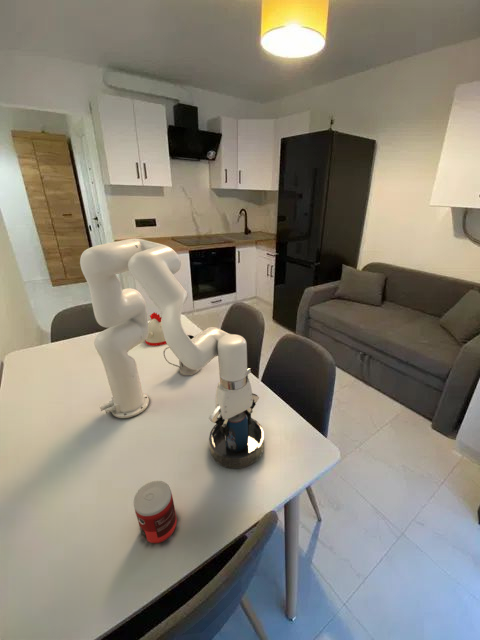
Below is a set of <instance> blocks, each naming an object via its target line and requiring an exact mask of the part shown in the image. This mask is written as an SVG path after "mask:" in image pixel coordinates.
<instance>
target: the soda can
mask: <svg viewBox="0 0 480 640" xmlns="http://www.w3.org/2000/svg"><path fill="white" fill-rule="evenodd" d="M227 425H228V433H229V435H228V436H227V437H226V436H225V443H226V446H227V448H228V449H230V450H231V451H233V452H240V451H242V450H243V449H244V448H245V447H246V446H247V444H248V418H247V415H246V414H245V411H243V412H241V413H239V414H237V415H235V416H233V417H231V418H229V419H228V422H227Z"/></svg>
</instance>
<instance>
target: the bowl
mask: <svg viewBox="0 0 480 640" xmlns="http://www.w3.org/2000/svg"><path fill="white" fill-rule="evenodd" d="M223 420H224V419H223ZM208 443H209V450H210V455H211V457H212V458H213V460H214V461H215V462H216V463H217V464H219V465H220V466H222V467H225V468H228V469H242V468H245V467H248V466H250V465H252V464H254V463H255V462H256V461H258V459H259V458H260V457H261V456H262V454H263V451H264V449H265V431H264V429H263V426H262V425H261V423H259V421H257V420H256V419H254V418H252V417H251V424H250V425H248V444H247V446H246V447H245V448H244V449H243V450H242V451H240V452H233V451H231V450H230V449H228V448H227V446H226V443H225V435H224V434H222V433H221V431H220V425H217V424H216V423H215V424H214V425H213V427H212V429H210V432H209V437H208Z"/></svg>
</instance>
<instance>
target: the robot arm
mask: <svg viewBox="0 0 480 640" xmlns="http://www.w3.org/2000/svg"><path fill="white" fill-rule="evenodd" d="M79 265H80V269H81V273H82V274H83V277H84V278H85V280H86V283H87V285H88V289H89V295H90V301H91V305H92V310H93V311H92V312H93V315H94V318H95V321H96V323H97V324H98V325H99V326H100V327H102V328H106V329H103V330H102V331H101V332H99V333H97V335H96V337H95V338H94V341H93V344H94V349H95V350H96V352H97V354H98V356H99V357H100V359H101V361H102V364H103V367H104V371H105V374H106V377H107V381H108V385H109V388H110V392H111V400H109V401H108V402H107V403H104V404H101V405H99V408H100V411H101V412H103V411H104V412H105V414H108V413H110V412H111V414H112V415H113V417H115V418H118V419H128V418H132V417H135V416H137V415H140V414H141V413H143V412H144V411H145V410H146V409H147V408H148V406H149V404H150V399H149V396H148V395H147V394H146V393H144V392H143V388H142V384H141V383H142V382H141V379H140V375H139V371H138V366H137V362H136V360H135V359H134V357H132V356H131V355H129V351H131V350H132V349H134V348H135V347H137V346H139V345H140V344H142V343H144V342H145V340H146V339H147V337H148V334H149V327H148V323H149V318H148V309H147V302H146V300H145V298H144V296H143V294H142V293H141V292H140V291H139V290H137V289H135V288H130V287H128V288H127V287H126V288H123V287H122V283H121V279H120V278H119V277H118V276H117V275H119V274H122V273H126V272H129V273H130V274H131V276H132V277H133V279H134V280H135V281H136V282H137V283H138V285H139V286H140V288H141V289H143V291H144V293H146V296H148V298H149V299H150V300H151V301H152V303H153V304H154V305H155V306H156V308H157V309H158V310H159V312H160V315H161V317H162V330H163V334H164V338H165V341H166V343H167V344H166V345H167V347H169V348H168V349H170V351H171V352H172V353H173V354H174V356H175V357H176V359H178V361H179V360H180V361H181V362H182V363H183V364H184V365H185V366H186V367H188V368H190V369H193V370H198V369H200V370H201V369H203V368H205V367H206V366H207V365H208V364H209V363H211V362H212V360H213V359H214V358H216V357H217V359H218V372H219V373H218V374H219V382H218V383H217V384H216V390H215V409H214V411H213V412H212V413H211V414H210V416H209V417H208V419H209V421H210V422H211V423H213V424H215V425H216V424H217V425H220V431H221V433H222V434H224V435H225V436H226V437H227V436H228V435H229V433H228V425H227V422H228V419H229V418H231V417H233V416H235V415H237V414H239V413H241V412H243V411H245V414H246V415H247V418H248V425H250V424H251V418H252V413H253V409H254V408H255V407H256V405H257V402H258V401H259V399H260V396H259V395H257V394H256V393H253V390H252V385H251V384H252V383H251V382H250V379H249V374H251V373H252V371H251V368H249V367H248V345H247V340H246V339H245V338H244V336H242V335H240V334H234V333H228V332H226V331H224V330H222V329H221V328H219V327H215V326H210V327H206V328H205V329H204V330H202V331H201V332H200V333H198V334H196V335H195V336H194V338H192V339H190V338H189V337H188V335H189V334H187V332H186V331H185V329H184V327H183V323H182V311H183V308H184V305H185V304H186V302H187V301H188V298H189V294H188V291H187V290H186V289H185V288H184V287H183V286H182V284H181V282H180V281H179V280H178V279H177V278H176V276H175V274H176V273H178V272H179V270H180V269H181V266H182V263H181V258H180V255H179V254H178V252H176V251H175V250H174V249H173V248H171V247H170V246H168V245H167V244H162V243H158V242H154V241H150V240H146V239H142V238H128V239H123V240H117V241H113V242H112V241H111V242H105V243H102V244H98V245H97V244H96V245H94V246H91V247H89V248H87V249H84V251H82V253H81V255H80V259H79ZM223 419H224V420H223Z"/></svg>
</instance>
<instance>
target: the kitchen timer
mask: <svg viewBox="0 0 480 640" xmlns="http://www.w3.org/2000/svg"><path fill="white" fill-rule="evenodd" d="M160 315H161V314H160V313H157V312H152V313H151V314H150V315H149V317H150V320H149V321H148V327H149V334H148V337H147V339H146V340H145V341H144V342H145V344H146V345H148V346H151V347H159V346H164V345H167V343H166V341H165V338H164V334H163V330H162V316H160Z"/></svg>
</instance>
